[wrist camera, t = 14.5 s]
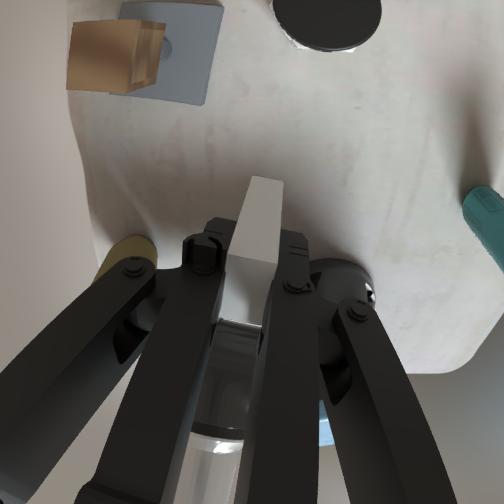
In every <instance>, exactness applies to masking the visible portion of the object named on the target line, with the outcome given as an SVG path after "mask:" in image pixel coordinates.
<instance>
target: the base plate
mask: <svg viewBox="0 0 504 504" xmlns="http://www.w3.org/2000/svg"><path fill="white" fill-rule="evenodd" d="M223 12H224V8H223V7H221V6H212V5H202V4H189V3H169V2H128V3H122V7H121V12H120V18H119V20H143V21H151V22H159V23H166V29H165V34H164V39H166V40H168V41H169V42H170V43H171V46H172V53H171V55H170V57H169V58H168V59H167V60H165V61H163V62H159V67H158V73H157V80H156V84H154V85H150V86H147V87H144V88H141V89H138V90H135V91H132V92H129V93H126V94H122V93H111V92H110V93H109V94H113V95H124V96H134V97H143V98H151V99H159V100H166V101H173V102H179V103H186V104H192V105H198V106H202V105H203V104H204V103H205V97H206V92H207V87H208V81H209V76H210V71H211V66H212V61H213V57H214V52H215V47H216V43H217V38H218V34H219V29H220V25H221V21H222V16H223Z"/></svg>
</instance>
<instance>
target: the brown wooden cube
mask: <svg viewBox="0 0 504 504" xmlns="http://www.w3.org/2000/svg"><path fill="white" fill-rule="evenodd" d="M165 29H166V23H159V22H151V21H143V20H100V21H84V22H73V28H72V35H71V42H70V50H69V60H68V71H67V84H66V90H84V91H99V92H111V93H122V94H126V93H129V92H132V91H135V90H138V89H141V88H144V87H147V86H150V85H154V84H156V80H157V73H158V67H159V61H160V55H161V50H162V44H163V39H164V34H165Z"/></svg>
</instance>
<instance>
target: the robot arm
mask: <svg viewBox="0 0 504 504" xmlns="http://www.w3.org/2000/svg"><path fill="white" fill-rule="evenodd" d="M283 186H284V181H280V180H275V179H270V178H265V177H260V176H254V175H252V178H251V181H250V184H249V187H248V191H247V194H246V197H245V200H244V203H243V206H242V209H241V212H240V215H239V218H238V221H233V220H228V219H223V218H217V217H215V218H213V219H212V220H210V221H209V222H207V224H206V226H205V228H204V231H203V233H200V234H193V235H191V236H189V237H187V238H186V239H185V240H184V241H183V249H182V265H181V266H180V267H178V268H174V269H155V265H154V264H153V262H152V261H151V260H149V259H147V258H145V257H141V256H130V257H127V258H123V259H122V260H120V261H118V262H117V263H116V264H115V265H114V266H112V267H111V268H110V269H109V270H108V271H107V272H105V273H104V274H103V275H102V276H101V277H100V278H99V279H97V280H96V281H95V282H94V283H93V284H92V285H91V286H90V287H89V288H87V289H86V290H85V291H84V292H83V293H82V294H81V295H80V296H78V297H77V298H76V299H75V300H74V301H73V302H72V303H71V304H70V305H69V306H68V307H66V308H65V309H64V310H63V311H62V312H61V313H60V314H59V315H58V316H57V317H56V318H55V319H54V320H53V321H52V322H50V323H49V324H48V325H47V326H46V327H45V328H44V329H43V330H42V331H41V332H40V333H39V334H38V335H37V336H36V337H35V338H34V339H33V340H32V341H31V342H30V343H29V344H28V345H27V346H26V347H25V348H24V349H23V350H22V351H21V352H20V353H19V354H18V355H17V356H16V357H15V358H14V359H13V360H12V361H11V363H9V364H8V366H7V367H6V368H5V369H4V370H3V371H2V372H1V373H0V504H25V503H27V502H28V500H29V499H30V498H31V497H32V496H33V494H34V493H35V492H36V491H37V489H38V488H39V487H40V485H41V484H42V483H43V481H44V480H45V478H46V477H47V476H48V474H49V473H50V472H51V470H52V469H53V468H54V466H55V465H56V464H57V462H58V461H59V460H60V458H61V457H62V456H63V454H64V453H65V451H66V450H67V449H68V447H69V446H70V445H71V443H72V442H73V441H74V440H75V438H76V437H77V436H78V434H79V433H80V432H81V430H82V429H83V428H84V426H85V425H86V424H87V422H88V421H89V420H90V418H91V417H92V416H93V414H94V413H95V412H96V411H97V409H98V408H99V407H100V405H101V404H102V403H103V401H104V400H105V399H106V398H107V396H108V395H109V394H110V392H111V391H112V390H113V389H114V387H115V386H116V385H117V383H118V382H119V381H120V379H121V378H122V377H123V376H124V374H125V373H126V372H127V371H128V369H129V368H130V367H131V365H132V364H133V363H134V362H135V360H136V359H137V358H138V357H139V355H140V354H141V356H140V358H139V360H138V363H137V365H136V368H135V370H134V372H133V375H132V377H131V379H130V382H129V384H128V387H127V389H126V392H125V394H124V397H123V399H122V402H121V404H120V407H119V409H118V412H117V415H116V417H115V420H114V423H113V425H112V428H111V431H110V433H109V436H108V439H107V441H106V444H105V447H104V449H103V452H102V455H101V458H100V460H99V463H98V466H97V469H96V472H95V474H94V476H93V478H92V479H91V480H90V481H89V482H87V483H86V484H85V485H83V487H82V488H81V489H80V491H79V492H78V495H77V497H76V499H75V502H74V504H227V503H228V499H229V494H230V490H231V486H232V482H233V478H234V473H235V469H236V465H237V460H238V456H239V452H240V449H241V448H242V447H243V449H242V455H241V461H240V468H239V474H238V480H237V486H236V493H235V499H234V504H317V495H318V470H319V446H325V445H331V444H335V446H336V450H337V454H338V458H339V461H340V465H341V469H342V473H343V476H344V480H345V484H346V488H347V492H348V496H349V500H350V504H457V501H456V498H455V494H454V492H453V489H452V486H451V483H450V480H449V477H448V475H447V471H446V469H445V466H444V463H443V461H442V458H441V455H440V453H439V450H438V447H437V445H436V442H435V440H434V437H433V435H432V432H431V430H430V427H429V425H428V422H427V420H426V418H425V415H424V413H423V411H422V408H421V406H420V404H419V401H418V399H417V397H416V394H415V392H414V390H413V388H412V385H411V383H410V381H409V379H408V377H407V374H406V372H405V370H404V368H403V366H402V364H401V362H400V359H399V357H398V355H397V353H396V351H395V349H394V347H393V345H392V343H391V341H390V339H389V337H388V335H387V333H386V331H385V329H384V327H383V325H382V323H381V321H380V319H379V317H378V315H377V313H376V311H375V310H374V308H375V302H376V297H375V291H374V287H373V283H372V281H371V279H370V277H369V275H368V274H367V273H366V272H365V271H364V270H363V269H362V268H360V267H359V266H357V265H355V264H353V263H351V262H348V261H345V260H340V259H320V260H315V261H311V262H309V251H308V241H307V239H306V238H305V236H304V235H303V234H302V233H298V232H293V231H288V230H283V229H280V228H281V215H282V201H283ZM218 316H219V317H218ZM223 318H225V319H230V320H235V321H240V322H245V323H250V324H255V325H261V324H262V327H257V326H253V325H248V324H243V323H238V322H234V321H229V320H224V319H223Z"/></svg>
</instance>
